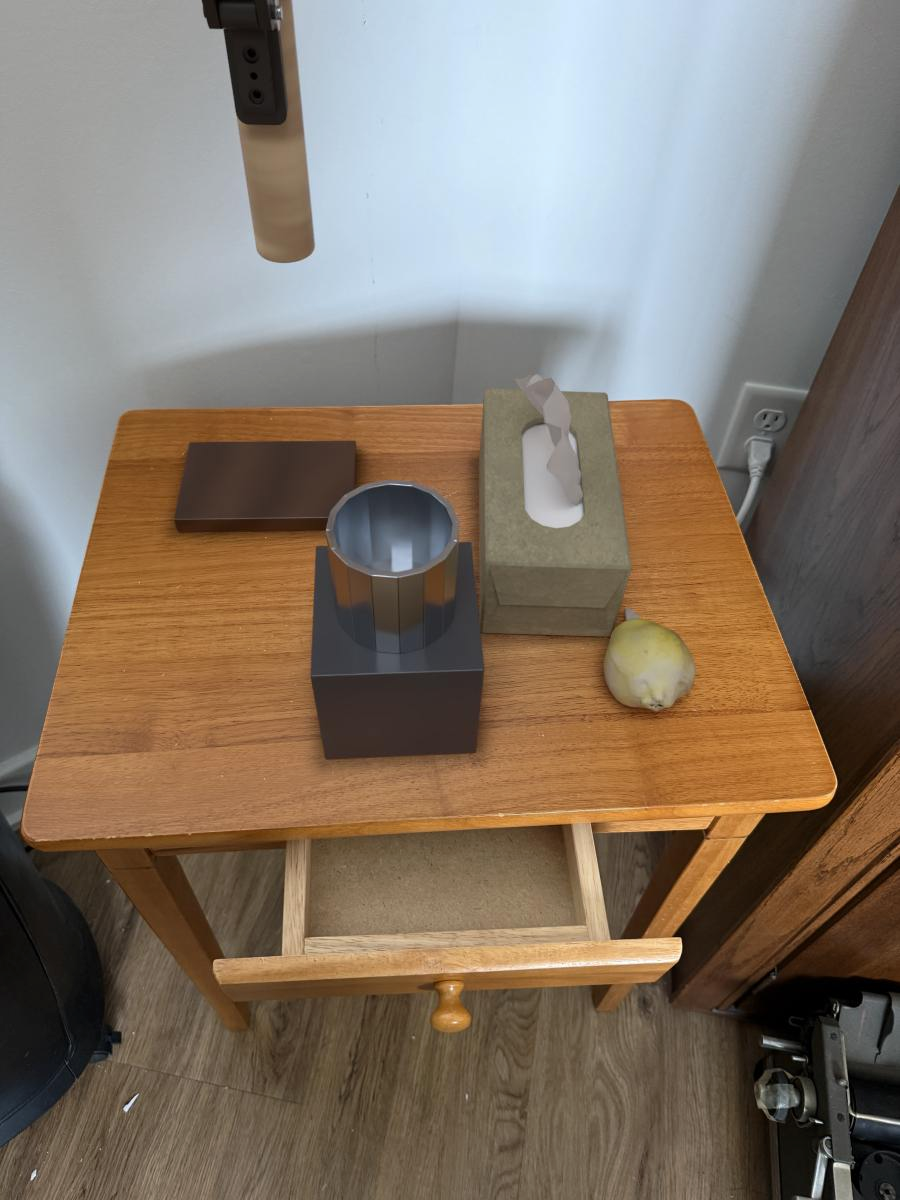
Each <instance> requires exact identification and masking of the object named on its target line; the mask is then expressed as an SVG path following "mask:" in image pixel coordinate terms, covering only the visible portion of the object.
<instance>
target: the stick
mask: <svg viewBox="0 0 900 1200" xmlns="http://www.w3.org/2000/svg"><path fill="white" fill-rule="evenodd" d="M279 5H281V6H282V13H283V20H280V34H281V44H282V53H283V63H284V72H285V82H286V91H287V101H288V113H287V118H286V120H285V122H284V123H282V124H281V125H248V124H244V123H242V122H241V121H240V120H239V119H238V117H237V115H236V114H235V116H236V122H237V129H238V136H239V141H240V142H239V143H240V149H241V155H242V162H243V168H244V169H243V170H244V177H245V182H246V189H247V196H248V202H249V208H250V210H249V211H250V215H251V222H252V223H251V224H252V228H253V229H252V230H253V236H254V243H255V249H256V252H257V254H258V255H259V256H260V257H261V258H263V259H264V260H266V261H269V262H271V263H278V264H290V263H296V262H300V261H303V260H305V259H307V258H308V257H310V256H312V254H313V253H314V251H315V248H316V241H315V228H314V220H313V209H312V198H311V197H312V196H311V187H310V176H309V164H308V155H307V143H306V133H305V124H304V123H305V122H304V113H303V111H304V110H303V102H302V101H303V100H302V91H301V89H302V88H301V79H300V69H299V58H298V49H297V35H296V27H295V16H294V6H293V5H294V4H293V0H279Z"/></svg>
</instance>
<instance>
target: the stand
mask: <svg viewBox="0 0 900 1200" xmlns="http://www.w3.org/2000/svg"><path fill="white" fill-rule="evenodd" d="M473 554H474V553H473V544H472V541H459V545H458V565H457V584H456V602H455V612H454V618H453V620H452V622H451V624H450V625H449V627H448V628H447V630H446V631H445V633H444V634H443V635H442V636H441V637H440V638H438V639H437V640H435V641H434V642H432V643H431V644H429V645H428V646H426V647H425V648H424V647H423V648H422V649H418V650H414V651H410V652H405V653H400V654H398V653H386V652H377V651H374V650H371V649H369V648H367V647H365V646H363V645H360V644H358V643H356V642H355V641H354V640H353V639H352V638H351V637H350V636H349V635H348V634H347V633H346V632H345V631H344V630H343V629H342V628H341V626H340V623H339V620H338V616H337V613H336V609H335V602H334V594H333V586H332V577H331V569H330V561H329V553H328V545H316V546H315V559H314V583H313V585H314V586H313V603H312V605H313V606H312V607H313V608H312V629H311V630H312V631H311V650H310V651H311V653H310V672H309V673H310V675H309V676H310V682H311V689H312V693H313V699H314V704H315V710H316V716H317V721H318V722H317V723H318V726H319V732H320V733H319V734H320V738H321V739H320V740H321V745H322V748H323V749H322V750H323V755H324V759H325V760H341V759H364V758H365V759H366V758H386V757H387V758H388V757H389V758H390V757H391V758H392V757H410V756H411V757H413V756H414V757H415V756H434V755H435V756H437V755H459V754H462V755H463V754H476V753H477V747H478V746H477V745H478V736H479V727H480V726H479V725H480V716H481V707H482V696H483V688H484V687H483V686H484V679H485V677H484V676H485V664H484V663H485V662H484V661H485V660H484V653H483V644H482V632H481V631H480V622H479V603H478V602H479V601H478V594H477V585H476V573H475V563H474V562H475V561H474V555H473Z"/></svg>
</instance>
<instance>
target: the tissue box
mask: <svg viewBox="0 0 900 1200" xmlns="http://www.w3.org/2000/svg"><path fill="white" fill-rule="evenodd" d="M513 380H514V381H515V383H516V384H517V386H518V387H519V389H512V388H511V389H508V388H486V389H484V391H483V402H482V403H483V404H482V415H481V431H480V445H479V457H478V513H479V514H478V540H479V541H478V572H479V575H478V576H479V577H478V578H479V579H478V584H479V585H478V594H479V595H478V596H479V597H478V600H479V601H478V602H479V603H478V612H479V622H480V632H481V634H482V633H483V634H508V635H509V634H510V635H512V634H513V635H540V636H541V635H542V636H543V635H544V636H575V637H576V636H577V637H604V638H610V637H611V634H612V632H613V630H614V629H615V628H616V624H617V623H616V622H617V620H618V617H619V616H618V615H619V612H620V610H621V605H622V602H623V599H624V595H625V592H626V589H627V585H628V581H629V578H630V576H631V572H632V568H633V566H632V559H631V553H630V543H629V539H628V538H629V537H628V532H627V531H628V530H627V523H626V517H625V509H624V508H625V507H624V502H623V496H622V495H623V494H622V488H621V481H620V473H619V467H618V458H617V451H616V445H615V444H616V443H615V438H614V431H613V423H612V417H611V416H612V415H611V410H610V401H609V396H608V394H607V393H606V392H600V391H595V392H594V391H571V390H570V391H569V390H561V389H560V388H559V386H558V384H557V383H556V382H555V381H554V379H553V378H552V377H548V378H544V377H542V376H541V375H539V374H537V373H536V372H532V373H530V374H528V375H527V376H524V377H522V378H516V377H513Z"/></svg>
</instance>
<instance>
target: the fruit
mask: <svg viewBox="0 0 900 1200" xmlns="http://www.w3.org/2000/svg"><path fill="white" fill-rule="evenodd" d="M624 616H625V620H624V621H622V622H621V623H619V624H618V625H617V626H615V627H614V630H613V632H612V634H611V636H610V637H609V641H608V645H607V649H606V652H605V654H604V658H603V675H604V680H605V683H606V685H607V688H608V690H609V692H610V693H611V694H612V696H613V697H614V699H615V700H616V701H617V702H618V703H620V704H621V705H624V706H627V707H631V708H644V709H648V710H652V711H654V712H659V711H662V710H663V709H668V708H671V707H672V706H673V705H674V703H675V702H676V701H677V700H678V699H680V698H682V697H683V696H685V695H686V694H687V693H689V692H690V691H691V689H692V688H693V685H694V682H695V680H696V674H697V673H696V663H695V660H694V657H693V655H692V653H691V651H690V649H689V647H688V646H687V644H686V642H685V641H684V640H683V638H682V637H681V636H680V634H678V633H677V632H676V631H674V630H673V629H671V628H669V627H666V626H664V625H661V624H659V623H658V622H656V621H653V620H650V619H646V618H641V617H640V616H639V614H638V613H636V612H635V611H634V610H633V609H632V608H630V607H625V608H624Z"/></svg>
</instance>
